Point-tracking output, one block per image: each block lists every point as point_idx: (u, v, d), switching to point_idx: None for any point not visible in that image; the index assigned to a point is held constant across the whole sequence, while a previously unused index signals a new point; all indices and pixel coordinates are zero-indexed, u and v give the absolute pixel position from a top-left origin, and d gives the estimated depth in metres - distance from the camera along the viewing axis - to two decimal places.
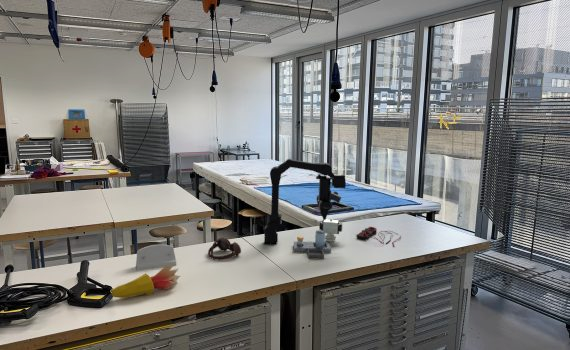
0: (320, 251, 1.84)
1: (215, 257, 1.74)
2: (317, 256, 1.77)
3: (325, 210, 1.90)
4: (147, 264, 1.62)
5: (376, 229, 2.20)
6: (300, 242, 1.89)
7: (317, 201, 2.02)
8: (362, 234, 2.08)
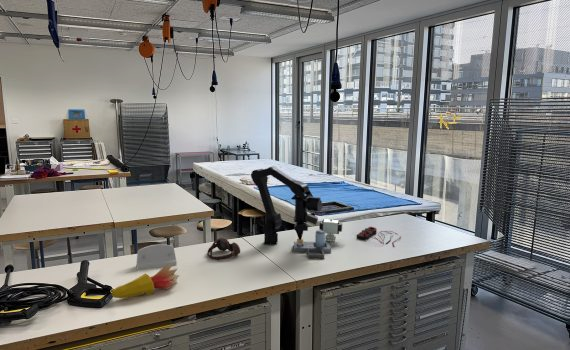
0: (320, 251, 1.84)
1: (214, 257, 1.73)
2: (317, 256, 1.77)
3: None
4: (147, 264, 1.63)
5: (376, 229, 2.20)
6: (300, 244, 1.89)
7: (294, 224, 1.91)
8: (362, 234, 2.08)
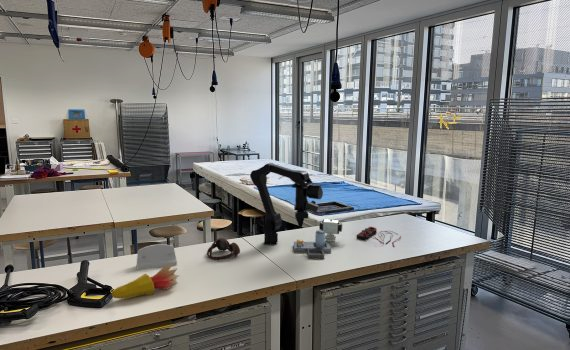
0: (320, 251, 1.84)
1: (214, 257, 1.73)
2: (317, 256, 1.77)
3: (301, 218, 1.87)
4: (147, 264, 1.63)
5: (376, 229, 2.20)
6: (300, 245, 1.89)
7: None
8: (362, 234, 2.08)
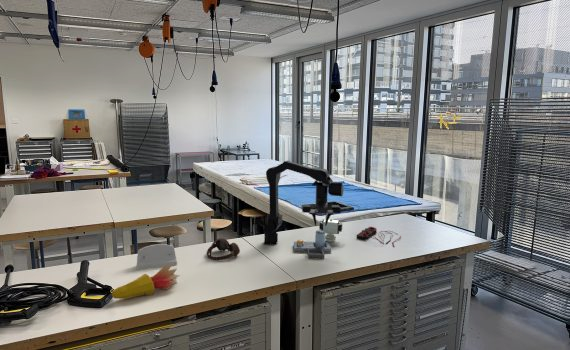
0: (320, 251, 1.84)
1: (214, 257, 1.73)
2: (317, 256, 1.77)
3: None
4: (147, 264, 1.63)
5: (376, 229, 2.20)
6: (300, 245, 1.89)
7: None
8: (362, 234, 2.08)
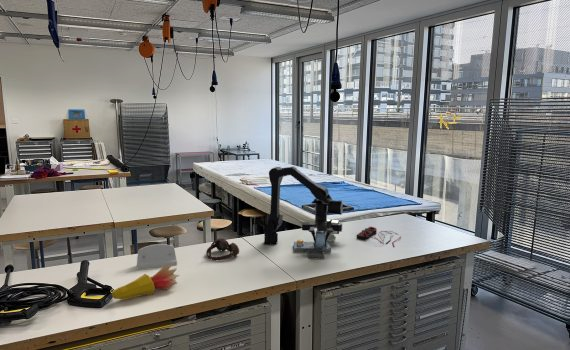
0: (320, 251, 1.84)
1: (213, 258, 1.73)
2: (317, 256, 1.77)
3: None
4: (148, 263, 1.63)
5: (376, 229, 2.20)
6: (300, 245, 1.89)
7: None
8: (362, 234, 2.08)
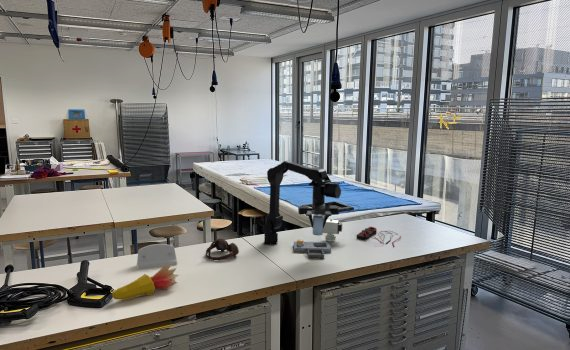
0: (320, 251, 1.84)
1: (213, 258, 1.73)
2: (317, 256, 1.77)
3: None
4: (148, 263, 1.63)
5: (376, 229, 2.20)
6: (300, 245, 1.89)
7: None
8: (362, 234, 2.08)
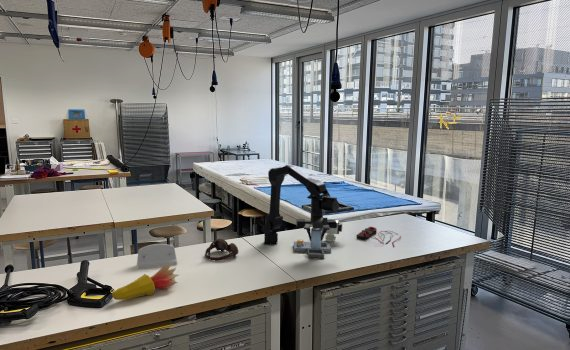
0: (320, 251, 1.84)
1: (212, 258, 1.72)
2: (317, 256, 1.77)
3: None
4: (148, 263, 1.63)
5: (376, 229, 2.20)
6: (300, 245, 1.89)
7: None
8: (362, 234, 2.08)
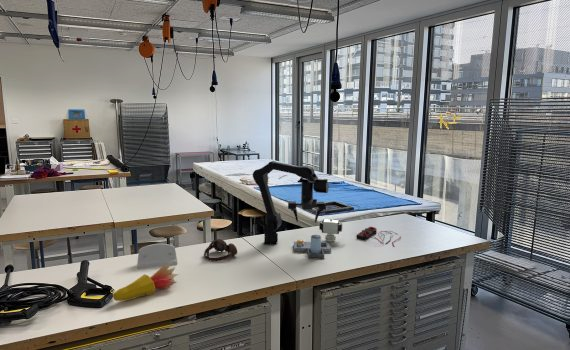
0: None
1: (211, 258, 1.72)
2: (317, 256, 1.77)
3: None
4: (148, 263, 1.64)
5: (376, 229, 2.20)
6: (300, 245, 1.89)
7: None
8: (362, 234, 2.08)
